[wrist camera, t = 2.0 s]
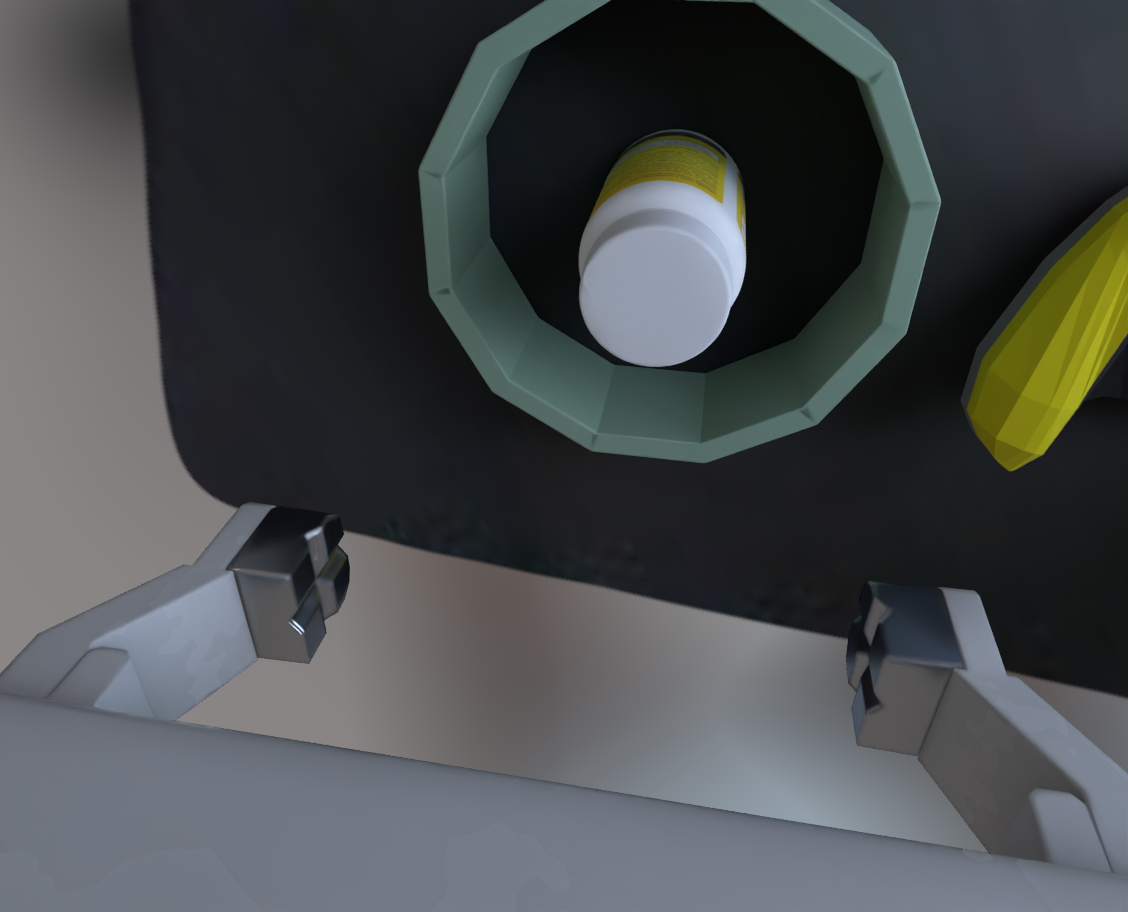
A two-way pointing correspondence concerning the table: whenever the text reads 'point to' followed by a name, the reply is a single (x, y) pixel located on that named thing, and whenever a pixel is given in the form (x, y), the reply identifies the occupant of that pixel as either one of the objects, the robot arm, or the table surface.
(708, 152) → the supplement bottle
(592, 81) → the table surface
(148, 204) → the table surface
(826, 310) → the ring
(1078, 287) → the gaming controller
